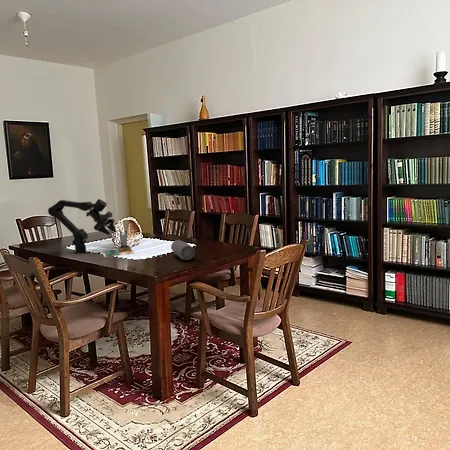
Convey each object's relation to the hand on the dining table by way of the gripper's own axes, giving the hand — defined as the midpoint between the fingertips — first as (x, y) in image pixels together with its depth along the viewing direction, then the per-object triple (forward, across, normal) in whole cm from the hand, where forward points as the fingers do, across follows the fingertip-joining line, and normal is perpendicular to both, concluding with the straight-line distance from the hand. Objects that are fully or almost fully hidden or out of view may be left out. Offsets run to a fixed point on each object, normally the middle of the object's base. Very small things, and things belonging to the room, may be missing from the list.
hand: (113, 233), depth 285 cm
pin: (+14, 0, +2) cm, 14 cm away
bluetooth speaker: (+46, -16, -30) cm, 57 cm away
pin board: (+14, -7, +4) cm, 16 cm away
